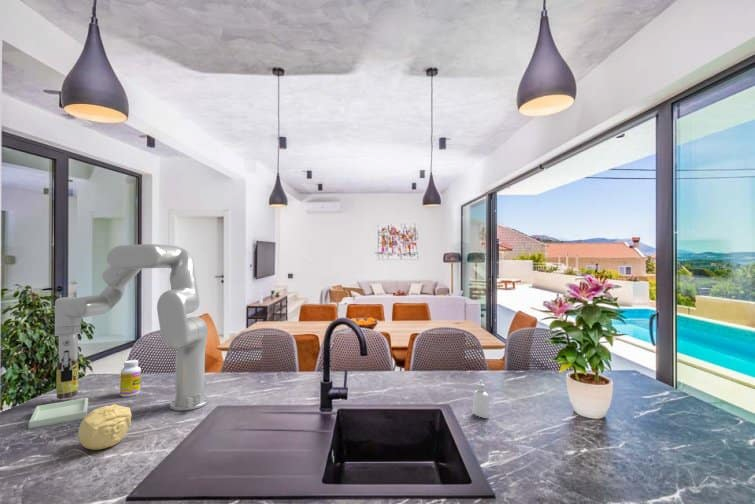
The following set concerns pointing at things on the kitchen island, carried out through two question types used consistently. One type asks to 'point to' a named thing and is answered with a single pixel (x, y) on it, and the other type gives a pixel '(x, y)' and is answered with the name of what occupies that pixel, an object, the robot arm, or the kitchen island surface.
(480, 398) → the eye dropper bottle
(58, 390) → the sauce bottle
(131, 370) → the supplement bottle
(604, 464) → the kitchen island surface
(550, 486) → the kitchen island surface
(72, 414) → the tray
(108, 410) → the sculpture
